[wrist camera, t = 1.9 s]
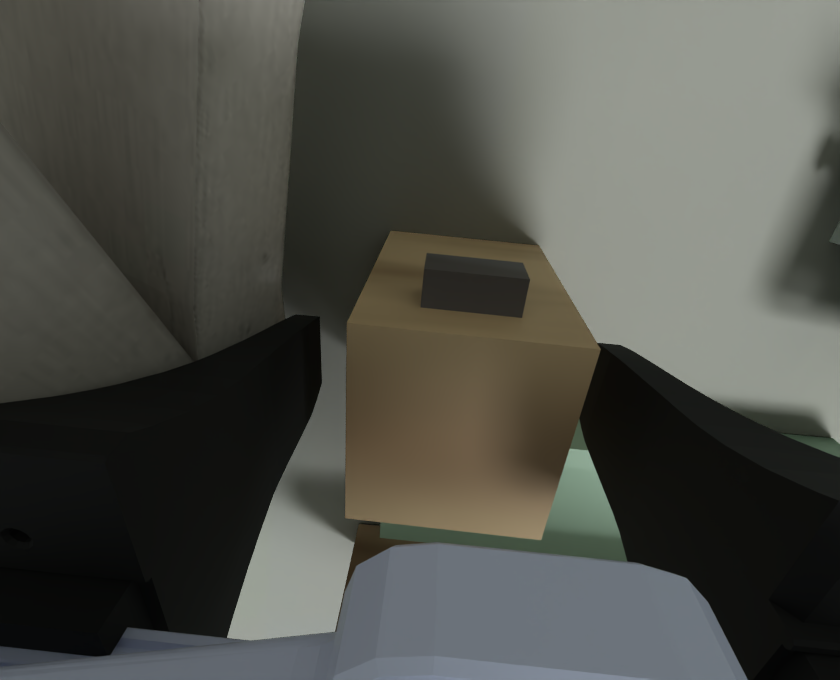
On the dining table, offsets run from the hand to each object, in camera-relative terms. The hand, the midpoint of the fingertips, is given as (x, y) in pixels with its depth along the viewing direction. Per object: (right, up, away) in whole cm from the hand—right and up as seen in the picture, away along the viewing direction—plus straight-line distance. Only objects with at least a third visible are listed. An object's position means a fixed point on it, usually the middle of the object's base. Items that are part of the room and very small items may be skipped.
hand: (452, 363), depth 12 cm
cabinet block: (0, +2, +3) cm, 3 cm away
